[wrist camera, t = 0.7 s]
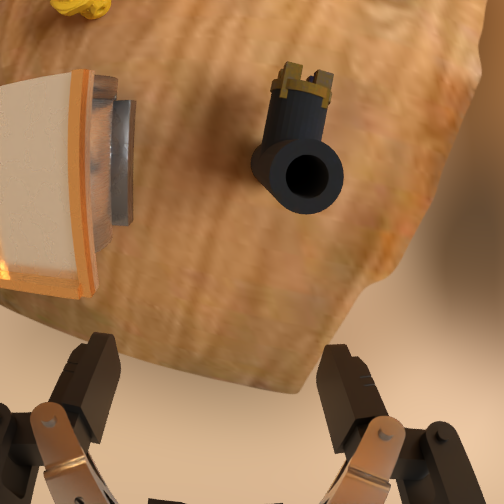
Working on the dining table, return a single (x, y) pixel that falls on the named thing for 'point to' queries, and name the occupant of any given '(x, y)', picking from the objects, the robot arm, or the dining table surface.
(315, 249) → the dining table surface
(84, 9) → the pressure relief valve
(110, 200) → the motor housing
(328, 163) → the pipe connector
